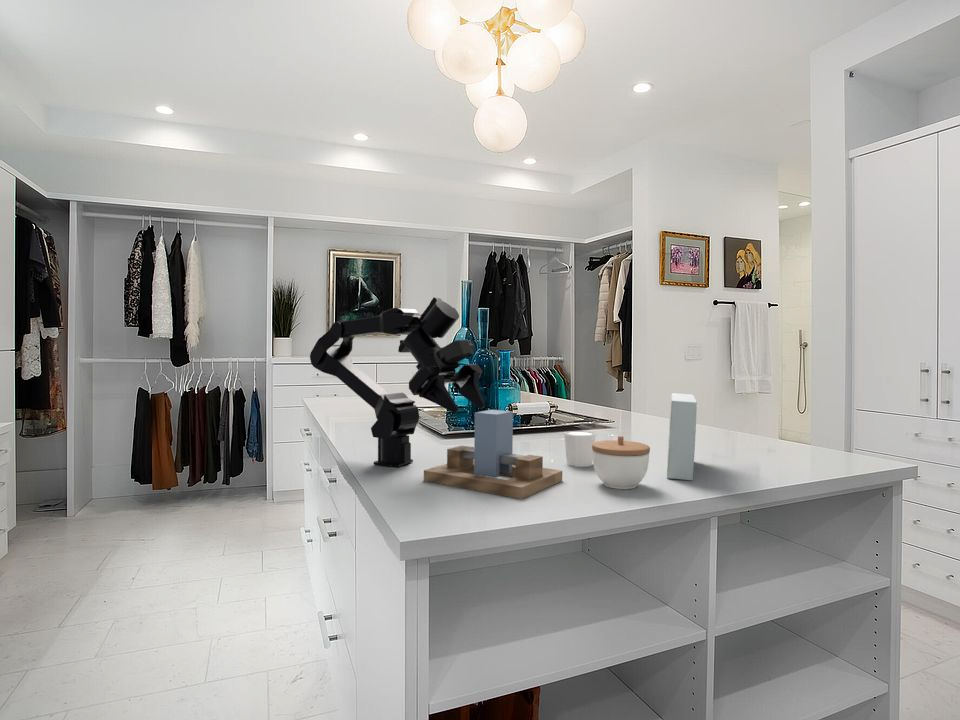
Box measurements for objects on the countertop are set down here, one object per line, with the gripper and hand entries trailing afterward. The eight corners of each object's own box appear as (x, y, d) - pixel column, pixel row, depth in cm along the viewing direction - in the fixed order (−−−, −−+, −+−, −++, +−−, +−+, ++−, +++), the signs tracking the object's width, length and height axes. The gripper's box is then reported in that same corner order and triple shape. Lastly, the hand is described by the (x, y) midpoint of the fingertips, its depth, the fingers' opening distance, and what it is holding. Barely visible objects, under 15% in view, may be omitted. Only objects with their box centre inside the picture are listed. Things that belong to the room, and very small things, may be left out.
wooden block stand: (423, 480, 110) (423, 452, 110) (470, 466, 123) (471, 441, 123) (521, 498, 98) (521, 467, 97) (562, 480, 111) (562, 452, 111)
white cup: (562, 460, 130) (562, 430, 130) (592, 461, 130) (592, 430, 130) (565, 467, 123) (566, 435, 123) (597, 467, 123) (597, 435, 123)
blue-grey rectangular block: (495, 477, 106) (496, 414, 106) (474, 474, 109) (474, 412, 109) (512, 471, 111) (512, 411, 111) (491, 468, 114) (491, 409, 114)
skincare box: (695, 482, 111) (697, 401, 111) (666, 479, 113) (668, 400, 112) (692, 461, 131) (693, 393, 131) (667, 459, 133) (668, 392, 132)
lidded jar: (598, 492, 102) (599, 441, 102) (586, 478, 113) (586, 431, 113) (657, 492, 103) (658, 441, 102) (639, 478, 113) (640, 432, 113)
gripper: (420, 324, 108) (466, 385, 102) (475, 327, 123) (518, 380, 117) (389, 364, 113) (432, 424, 107) (446, 362, 128) (486, 414, 122)
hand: (470, 409), depth 113 cm, fingers open, 9 cm apart
